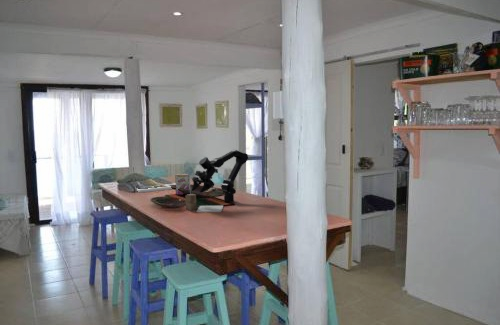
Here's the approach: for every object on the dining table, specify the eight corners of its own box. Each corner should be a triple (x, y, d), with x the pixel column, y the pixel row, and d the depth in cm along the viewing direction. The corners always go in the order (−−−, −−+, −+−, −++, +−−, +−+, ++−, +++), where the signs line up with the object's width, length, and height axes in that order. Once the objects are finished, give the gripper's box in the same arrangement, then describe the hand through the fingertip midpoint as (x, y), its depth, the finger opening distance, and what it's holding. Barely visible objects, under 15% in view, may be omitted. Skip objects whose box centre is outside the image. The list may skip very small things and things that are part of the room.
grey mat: (223, 206, 268) (223, 205, 267) (221, 211, 252) (221, 210, 252) (200, 206, 268) (200, 205, 268) (196, 212, 252) (196, 211, 252)
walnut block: (192, 208, 265) (191, 193, 264) (196, 209, 261) (195, 194, 260) (185, 209, 261) (185, 194, 260) (190, 210, 258) (189, 195, 256)
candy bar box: (175, 194, 315) (174, 174, 313) (177, 193, 320) (176, 173, 318) (189, 194, 314) (188, 174, 312) (190, 193, 319) (190, 173, 317)
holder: (138, 193, 328) (138, 190, 327) (133, 190, 343) (132, 187, 343) (188, 187, 351) (188, 185, 351) (181, 185, 366) (181, 182, 366)
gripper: (193, 165, 272) (181, 182, 265) (210, 167, 258) (197, 185, 252) (203, 175, 278) (190, 192, 271) (219, 177, 265) (207, 196, 258)
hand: (196, 191), depth 263 cm, fingers open, 9 cm apart
